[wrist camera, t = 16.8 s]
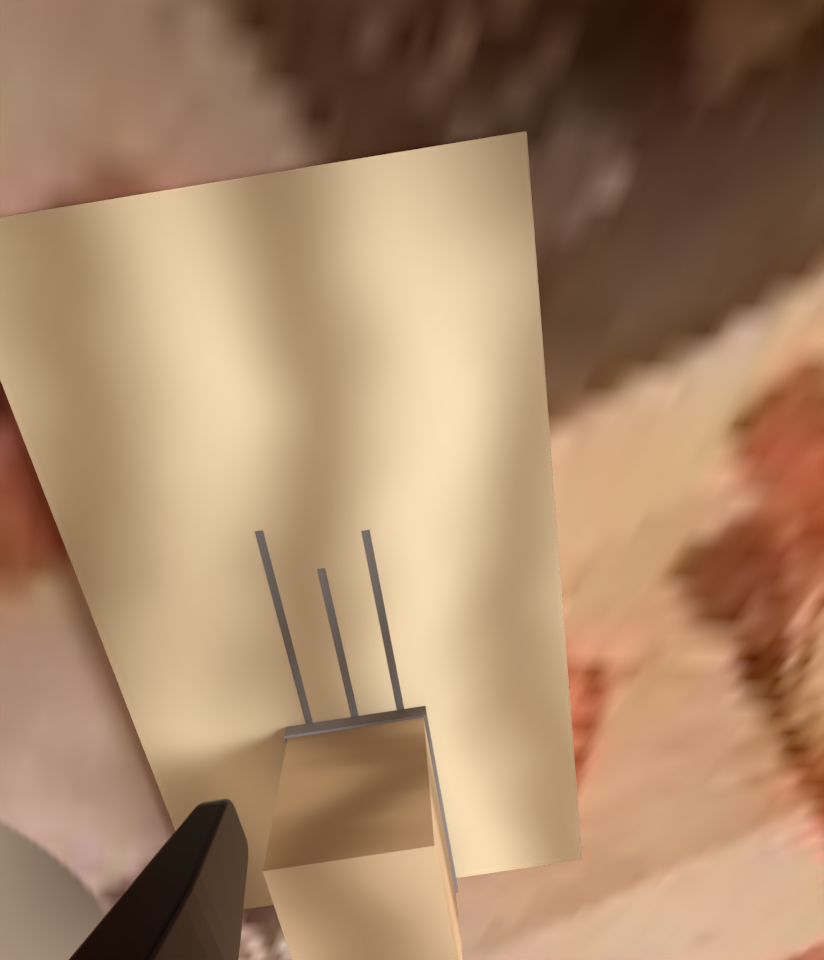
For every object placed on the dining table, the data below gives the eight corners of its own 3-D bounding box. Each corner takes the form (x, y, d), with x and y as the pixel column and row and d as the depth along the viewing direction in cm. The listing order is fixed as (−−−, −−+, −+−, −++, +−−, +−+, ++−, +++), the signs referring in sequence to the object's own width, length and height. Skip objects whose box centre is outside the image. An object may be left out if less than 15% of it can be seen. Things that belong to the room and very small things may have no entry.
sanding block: (425, 705, 21) (437, 842, 16) (456, 881, 24) (475, 1040, 19) (285, 727, 21) (257, 869, 16) (334, 899, 24) (322, 1062, 19)
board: (516, 138, 16) (526, 131, 15) (572, 831, 25) (582, 859, 24) (-29, 227, 16) (-60, 226, 15) (215, 884, 25) (207, 914, 24)
